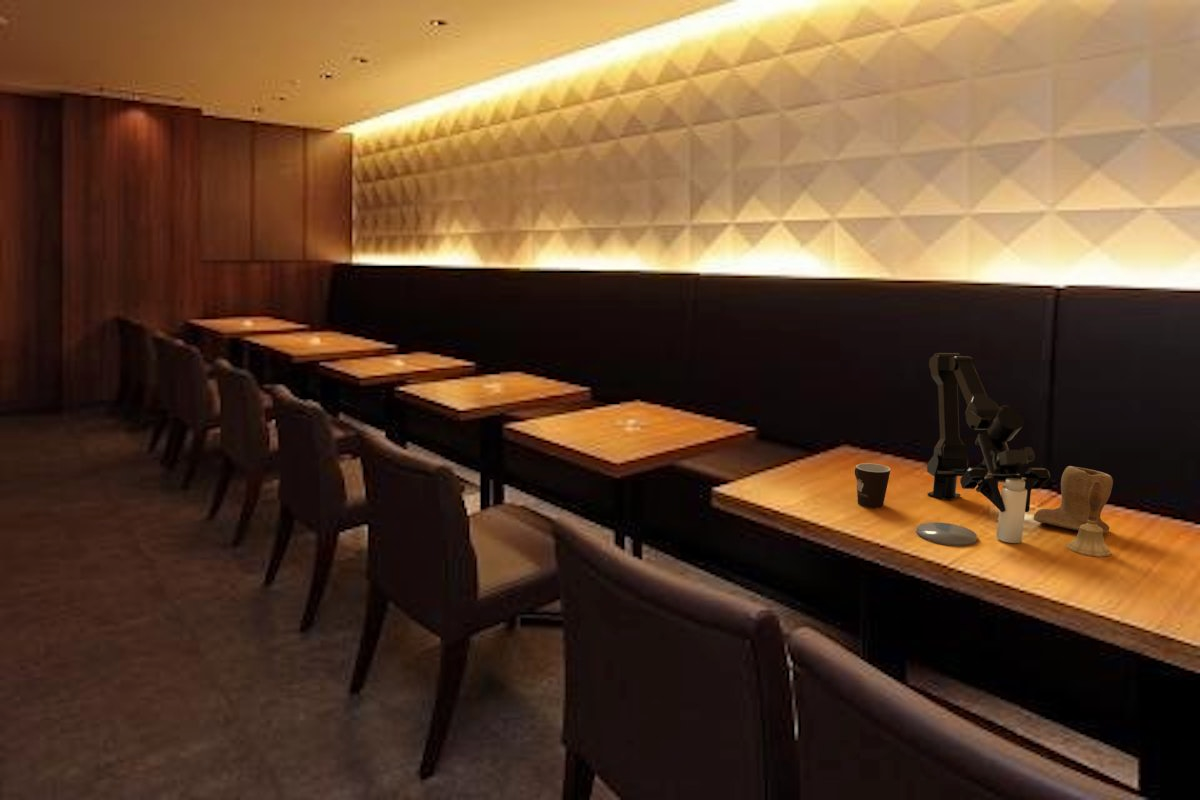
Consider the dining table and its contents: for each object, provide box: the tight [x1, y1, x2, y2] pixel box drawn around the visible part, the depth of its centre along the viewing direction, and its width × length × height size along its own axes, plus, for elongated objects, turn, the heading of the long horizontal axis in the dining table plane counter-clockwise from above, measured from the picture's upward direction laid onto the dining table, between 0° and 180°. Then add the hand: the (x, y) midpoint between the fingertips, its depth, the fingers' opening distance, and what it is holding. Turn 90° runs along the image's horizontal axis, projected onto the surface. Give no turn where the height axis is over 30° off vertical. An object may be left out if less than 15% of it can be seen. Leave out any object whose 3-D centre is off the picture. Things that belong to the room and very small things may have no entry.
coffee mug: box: [854, 462, 891, 509], centre depth 208 cm, size 12×9×10 cm
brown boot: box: [1033, 465, 1114, 535], centre depth 190 cm, size 15×12×15 cm
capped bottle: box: [995, 478, 1027, 544], centre depth 180 cm, size 5×5×14 cm
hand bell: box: [1067, 481, 1112, 558], centre depth 175 cm, size 8×8×16 cm
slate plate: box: [915, 521, 978, 547], centre depth 185 cm, size 13×13×1 cm
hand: (1015, 511), depth 179 cm, fingers closed on capped bottle, 5 cm apart
